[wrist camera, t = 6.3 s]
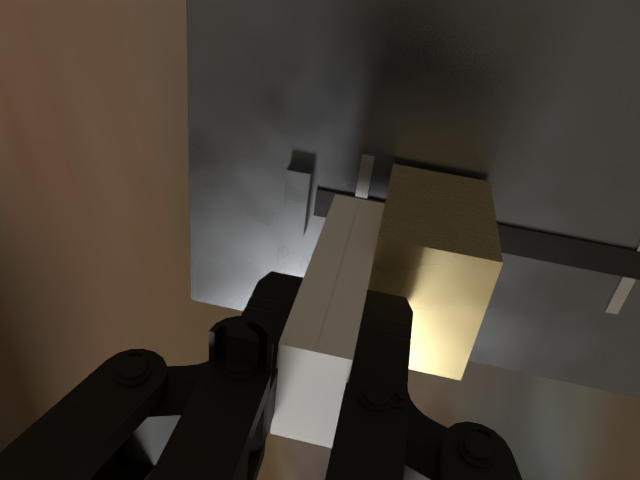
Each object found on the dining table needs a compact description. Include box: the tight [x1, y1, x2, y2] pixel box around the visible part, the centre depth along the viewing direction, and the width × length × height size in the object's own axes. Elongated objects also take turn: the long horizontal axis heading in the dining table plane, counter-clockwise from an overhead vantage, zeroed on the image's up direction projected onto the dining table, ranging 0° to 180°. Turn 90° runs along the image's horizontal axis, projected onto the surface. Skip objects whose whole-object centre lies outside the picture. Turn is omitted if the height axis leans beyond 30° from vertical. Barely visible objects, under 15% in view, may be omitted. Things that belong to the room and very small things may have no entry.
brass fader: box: [368, 164, 503, 380], centre depth 16 cm, size 3×4×4 cm
